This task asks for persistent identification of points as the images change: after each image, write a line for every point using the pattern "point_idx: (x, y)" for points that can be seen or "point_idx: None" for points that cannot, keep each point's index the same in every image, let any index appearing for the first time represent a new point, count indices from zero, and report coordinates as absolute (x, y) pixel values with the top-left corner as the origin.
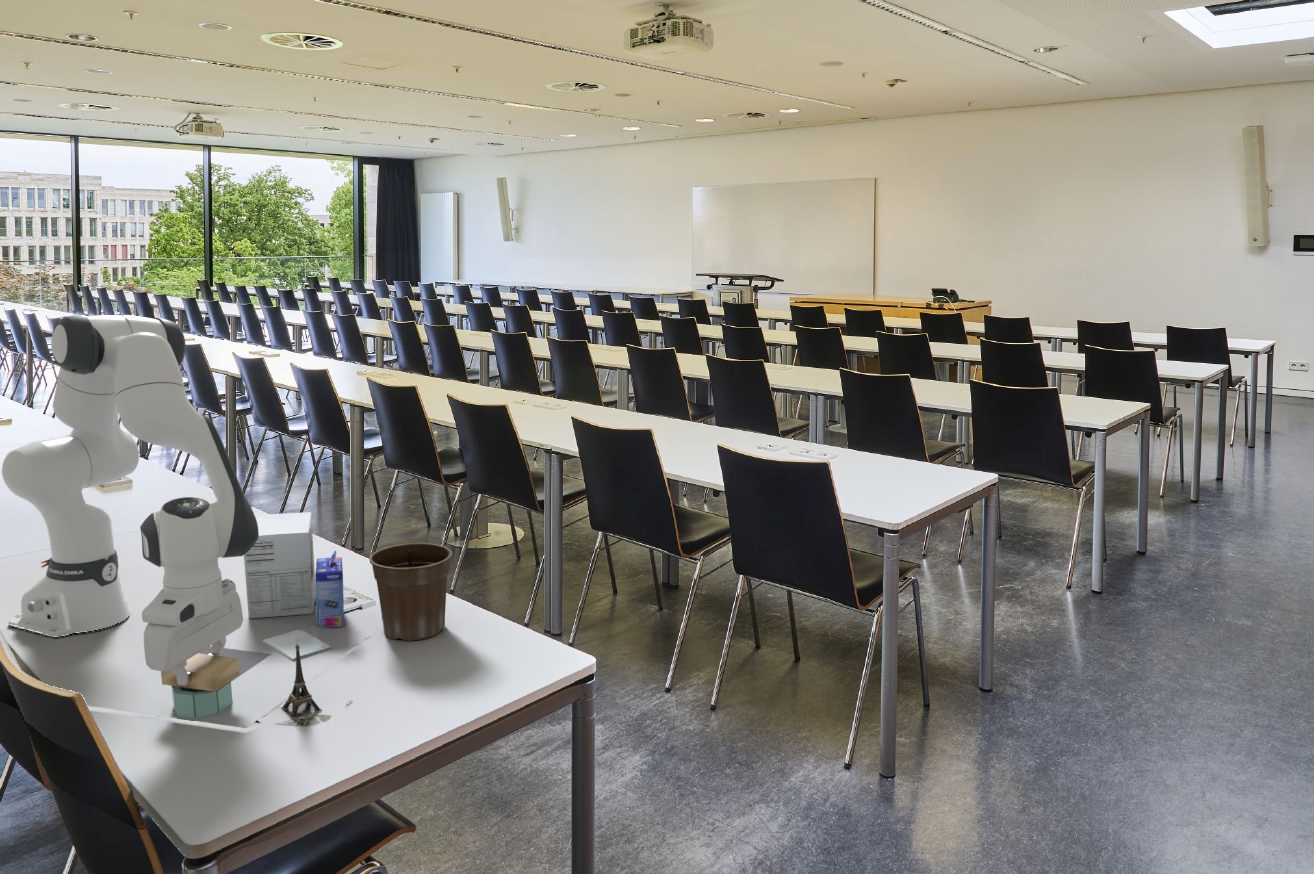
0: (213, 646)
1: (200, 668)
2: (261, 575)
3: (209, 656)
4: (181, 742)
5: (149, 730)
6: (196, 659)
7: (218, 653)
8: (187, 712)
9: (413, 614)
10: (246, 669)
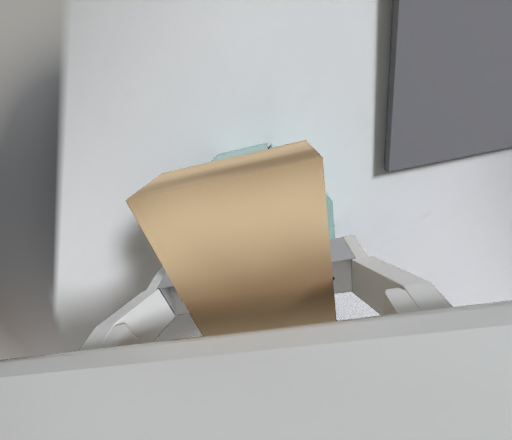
0: (378, 281)
1: (224, 318)
2: None
3: (317, 279)
4: (151, 271)
5: (130, 190)
6: (271, 262)
7: (353, 289)
8: None
9: None
10: (471, 150)
